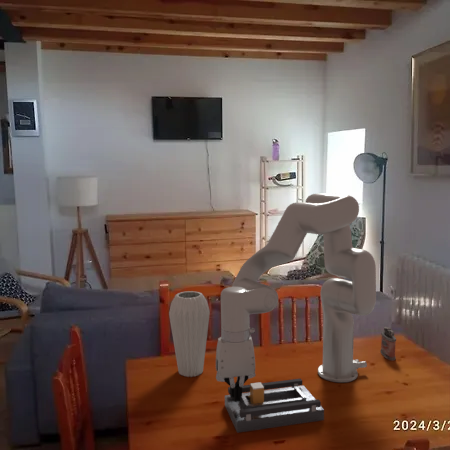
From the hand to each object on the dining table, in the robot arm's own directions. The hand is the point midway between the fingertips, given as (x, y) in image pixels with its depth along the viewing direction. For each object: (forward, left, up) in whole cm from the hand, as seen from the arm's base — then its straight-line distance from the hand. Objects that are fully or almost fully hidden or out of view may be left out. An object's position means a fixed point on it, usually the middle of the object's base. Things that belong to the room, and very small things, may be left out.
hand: (236, 399), depth 126 cm
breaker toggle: (-6, 0, -2) cm, 6 cm away
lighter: (-62, -26, -6) cm, 68 cm away
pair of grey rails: (-10, 0, -2) cm, 11 cm away
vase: (+8, -31, -6) cm, 32 cm away
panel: (-10, 0, -5) cm, 12 cm away
